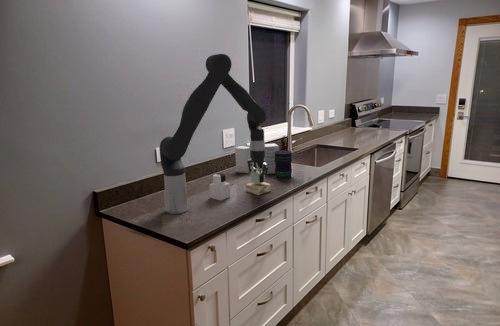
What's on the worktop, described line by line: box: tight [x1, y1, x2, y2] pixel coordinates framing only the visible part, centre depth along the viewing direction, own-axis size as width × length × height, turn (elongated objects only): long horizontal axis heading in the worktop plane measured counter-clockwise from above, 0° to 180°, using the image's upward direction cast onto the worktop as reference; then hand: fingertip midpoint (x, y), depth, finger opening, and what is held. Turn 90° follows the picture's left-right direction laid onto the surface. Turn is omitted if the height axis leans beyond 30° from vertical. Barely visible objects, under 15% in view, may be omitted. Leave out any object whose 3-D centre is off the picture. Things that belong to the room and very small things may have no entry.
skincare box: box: [234, 145, 251, 174], centre depth 217 cm, size 8×7×16 cm
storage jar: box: [274, 149, 293, 181], centre depth 203 cm, size 10×10×15 cm
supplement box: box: [261, 143, 280, 175], centre depth 215 cm, size 10×9×17 cm
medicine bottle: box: [209, 172, 231, 202], centre depth 173 cm, size 7×7×12 cm
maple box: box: [245, 181, 272, 196], centre depth 182 cm, size 9×9×4 cm
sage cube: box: [250, 170, 266, 184], centre depth 181 cm, size 5×5×5 cm
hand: (258, 181), depth 181 cm, fingers closed on sage cube, 4 cm apart
